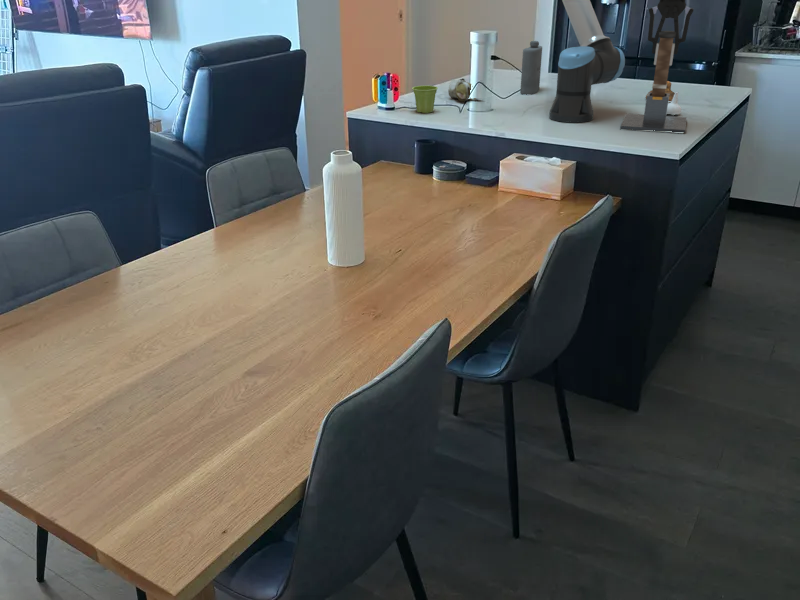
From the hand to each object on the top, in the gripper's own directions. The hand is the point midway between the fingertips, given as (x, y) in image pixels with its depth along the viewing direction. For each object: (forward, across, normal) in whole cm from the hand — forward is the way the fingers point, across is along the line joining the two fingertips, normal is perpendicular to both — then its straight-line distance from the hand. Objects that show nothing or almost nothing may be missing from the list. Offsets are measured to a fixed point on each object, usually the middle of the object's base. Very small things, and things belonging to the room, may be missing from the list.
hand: (662, 64), depth 226 cm
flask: (+20, -52, +48) cm, 73 cm away
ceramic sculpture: (+20, -74, +22) cm, 80 cm away
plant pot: (+20, -81, -3) cm, 83 cm away
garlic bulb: (+20, +5, +19) cm, 28 cm away
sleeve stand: (+20, 0, 0) cm, 20 cm away
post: (+12, 0, 0) cm, 12 cm away
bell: (+20, 0, +46) cm, 50 cm away
